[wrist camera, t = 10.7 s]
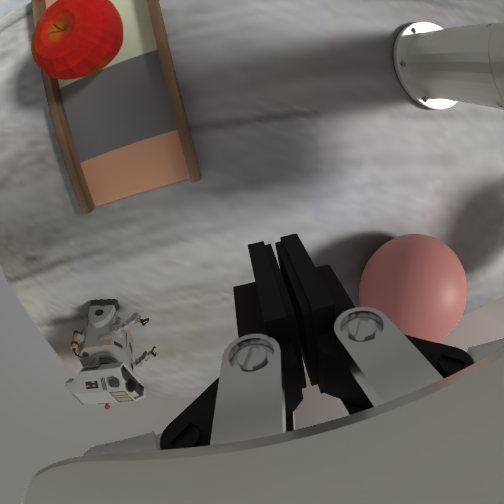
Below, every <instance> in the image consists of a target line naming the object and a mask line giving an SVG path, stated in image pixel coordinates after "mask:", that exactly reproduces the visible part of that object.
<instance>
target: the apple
mask: <svg viewBox="0 0 504 504" xmlns="http://www.w3.org/2000/svg"><path fill="white" fill-rule="evenodd" d="M122 44H123V23H122V20H121V17H120V14H119V12H118V10H117V9H116V7H115V6H114V4H113V3H112V2H111V1H109V0H57V1H56V2H54V3H53V4H52V5H51V6H49V7H48V8H47V10H46V11H45V12H44V14H43V15H42V16H41V18H40V19H39V20H38V22H37V25H36V28H35V31H34V34H33V38H32V48H31V50H32V54H33V57H34V61H35V63H36V64H37V65H38V66H39V67H40V68H41V69H42V70H43V71H44V72H45V73H46V74H47V75H48V76H49V77H50V78H55V79H60V80H69V79H77V78H81V77H85V76H90V75H92V74H94V73H96V72H97V71H99V70H101V69H102V68H104V67H106V66H107V65H108V64H109V63H110V62H111V61H112V60H113V59H114V58H115V57H116V56H117V54H118V52H119V50H120V48H121V46H122Z"/></svg>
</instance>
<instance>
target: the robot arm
mask: <svg viewBox="0 0 504 504" xmlns="http://www.w3.org/2000/svg"><path fill="white" fill-rule="evenodd" d="M393 58H394V66H395V69H396V73H397V76H398V78H399V80H400V82H401V84H402V86H403V87H404V89H405V91H406V92H407V93H408V94H409V95H410V97H411V98H413V99H414V100H415V101H416V102H417V103H419V104H421V105H422V106H424V107H427V108H430V109H436V110H443V109H447V108H450V107H451V106H453V105H455V104H456V103H457V102H458V101H459V102H466V103H472V104H478V105H483V106H488V107H493V108H498V109H503V110H504V23H491V24H479V25H469V26H461V27H453V28H446V29H442V28H441V27H439V26H437V25H435V24H433V23H429V22H416V23H412V24H410V25H407V26H406V27H405V28H403V29H402V30H401V32H400V33H399V34H398V36H397V38H396V41H395V45H394V53H393ZM400 64H401V65H400ZM275 244H276V250H277V255H278V260H279V266H280V269H279V266H278V263H277V260H276V257H275V255H274V252H273V249H272V246H271V244H268V245H265V244H264V241H262V242H258V243H254V244H249V245H248V249H249V253H250V258H251V263H252V267H253V272H254V277H255V282H253V283H248V284H244V285H240V286H235V287H234V299H235V309H236V318H237V328H238V337H239V338H238V339H236V340H234V341H233V342H232V343H230V344H229V345H228V347H227V348H226V349H225V351H224V354H223V357H222V363H221V370H220V377H219V378H218V379H217V380H215V381H214V382H213V383H212V384H211V385H210V386H209V387H208V388H207V389H206V390H205V391H204V392H203V393H202V394H201V395H200V396H199V397H198V398H197V399H196V400H195V401H194V402H193V403H192V404H190V405H189V406H188V407H187V408H186V409H185V410H184V411H183V412H182V413H181V414H180V415H179V416H178V417H177V418H176V419H174V420H173V421H172V422H171V423H170V424H169V425H168V426H167V427H166V429H165V430H164V431H163V433H161V434H157V435H156V434H155V433H154V432H151V433H147V434H144V435H139V436H136V437H132V438H128V439H124V440H120V441H115V442H111V443H106V444H102V445H97V446H94V447H92V448H90V449H89V450H88V451H86V452H85V454H84V455H83V456H78V457H73V458H68V459H65V460H62V461H59V462H56V463H53V464H51V465H49V466H47V467H45V468H43V469H41V470H39V471H38V472H37V473H36V474H35V475H33V476H32V478H31V479H30V481H29V482H28V485H27V486H26V488H25V491H24V493H23V496H22V499H21V503H20V504H504V339H500V340H496V341H493V342H489V343H485V344H481V345H477V346H473V347H469V349H468V351H467V352H465V351H463V350H461V349H459V348H456V347H452V346H448V345H444V344H440V343H436V342H432V341H428V340H424V339H420V338H416V337H412V336H408V335H405V334H403V333H402V332H401V331H400V330H399V329H398V328H397V327H396V326H395V325H394V323H393V322H392V321H391V320H390V319H389V318H388V317H387V316H386V315H385V314H384V313H382V312H381V311H379V310H377V309H374V308H370V307H356V308H355V306H354V304H353V303H352V301H351V299H350V298H349V296H348V294H347V293H346V291H345V289H344V288H343V286H342V285H341V283H340V281H339V280H338V278H337V276H336V275H335V273H334V272H333V270H332V268H331V267H330V266H329V265H323V266H319V267H315V266H314V264H313V262H312V260H311V259H310V257H309V255H308V253H307V251H306V250H305V248H304V246H303V244H302V242H301V241H300V239H299V237H298V235H297V234H292V235H288V236H284V237H281V242H277V243H275ZM302 357H303V359H302ZM303 360H304V363H305V366H306V370H307V373H308V376H309V379H310V382H311V385H312V386H313V385H317V384H318V386H319V389H320V392H321V393H326V394H329V395H331V396H334V397H336V401H337V403H338V406H339V407H340V409H341V411H342V412H343V414H344V416H345V417H342V418H339V419H336V420H332V421H328V422H325V423H321V424H317V425H314V426H310V427H306V428H302V429H298V430H295V416H294V410H295V409H296V408H297V406H298V405H299V404H300V402H301V401H302V400H303V394H302V388H306V379H305V372H304V366H303Z"/></svg>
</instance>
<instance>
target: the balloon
mask: <svg viewBox="0 0 504 504" xmlns="http://www.w3.org/2000/svg"><path fill="white" fill-rule="evenodd" d="M466 300H467V280H466V275H465V272H464V269H463V266H462V264H461V262H460V260H459V259H458V257H457V256H456V254H455V253H454V252H453V251H452V250H451V249H450V248H449V247H448V246H447V245H446V244H444V243H443V242H441V241H439V240H438V239H435V238H433V237H430V236H427V235H421V234H408V235H403V236H399V237H396V238H394V239H392V240H390V241H388V242H387V243H385V244H384V245H382V246H381V247H380V248H379V249H378V250H377V251H376V252H375V253H374V254H373V255H372V256H371V258H370V259H369V261H368V262H367V264H366V266H365V268H364V270H363V273H362V276H361V280H360V285H359V302H360V307H370V308H374V309H377V310H379V311H381V312H382V313H384V314H385V315H386V316H387V317H388V318H389V319H390V320H391V321H392V322H393V323H394V325H395V326H396V327H397V328H398V329H399V330H400V331H401V332H402V333H403V334H405V335H408V336H412V337H416V338H420V339H424V340H428V341H432V342H436V343H438V342H439V341H441V340H442V339H444V338H445V337H446V336H447V335H448V334H449V333H450V332H451V331H452V330H453V329H454V328H455V326H456V325H457V323H458V321H459V320H460V318H461V316H462V314H463V311H464V308H465V305H466Z"/></svg>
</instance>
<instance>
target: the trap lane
mask: <svg viewBox="0 0 504 504" xmlns="http://www.w3.org/2000/svg"><path fill="white" fill-rule="evenodd" d="M56 1H57V0H32V11H33V21H34V29H35V28H36V25H37V22H38V20H39V19H40V18H41V16H42V15H43V14H44V12H45V11H46V10H47V8H48V7H49V6H51V5H52V4H53V3H54V2H56ZM109 1H111V2H112V3H113V4H114V6H115V7H116V9H117V10H118V12H119V14H120V17H121V20H122V23H123V44H122V46H121V48H120V50H119V52H118V54H117V56H116V57H115V58H114V59H113V60H112V61H111V62H110V63H109V64H108V65H107V66H106V67H104V68H102V69H101V70H99V71H97V72H96V73H94V74H92V75H90V76H85V77H81V78H77V79H69V80H60V79H55V78H50V77H49V76H48V75H47V74H46V73H45V72H44V71H43V70H42V69H41V72H42V77H43V82H44V87H45V92H46V96H47V100H48V105H49V109H50V113H51V117H52V120H53V124H54V128H55V131H56V135H57V139H58V142H59V145H60V149H61V152H62V155H63V158H64V162H65V165H66V168H67V171H68V174H69V177H70V180H71V183H72V185H73V188H74V191H75V194H76V197H77V199H78V202H79V205H80V207H81V210H82V213H83V215H85V214H88V213H90V212H91V211H92V210H93V209H94V208H95V207H97V206H100V205H103V204H106V203H109V202H112V201H115V200H119V199H122V198H125V197H128V196H131V195H135V194H138V193H141V192H145V191H148V190H151V189H155V188H158V187H162V186H165V185H169V184H172V183H176V182H180V181H183V180H187V179H191V182H195V181H199V180H200V179H201V173H200V169H199V166H198V162H197V158H196V154H195V150H194V146H193V143H192V139H191V135H190V131H189V127H188V123H187V119H186V115H185V111H184V107H183V103H182V99H181V95H180V91H179V87H178V83H177V78H176V74H175V70H174V66H173V62H172V57H171V53H170V49H169V45H168V40H167V36H166V31H165V27H164V22H163V18H162V13H161V9H160V4H159V0H109Z"/></svg>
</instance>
